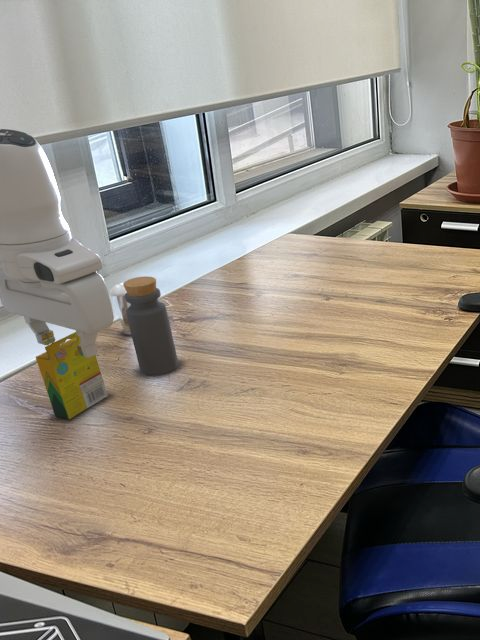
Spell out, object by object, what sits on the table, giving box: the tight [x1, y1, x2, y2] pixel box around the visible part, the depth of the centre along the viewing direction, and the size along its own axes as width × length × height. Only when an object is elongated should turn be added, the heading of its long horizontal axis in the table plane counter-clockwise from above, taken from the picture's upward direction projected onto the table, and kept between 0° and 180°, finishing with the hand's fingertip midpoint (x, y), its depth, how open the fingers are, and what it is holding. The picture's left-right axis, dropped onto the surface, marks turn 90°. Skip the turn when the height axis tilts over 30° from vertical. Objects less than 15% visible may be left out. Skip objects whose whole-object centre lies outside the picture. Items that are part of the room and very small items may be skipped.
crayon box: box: [35, 331, 109, 420], centre depth 102 cm, size 7×3×12 cm, turn 159°
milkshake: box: [109, 282, 132, 336], centre depth 126 cm, size 5×5×10 cm
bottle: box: [122, 276, 179, 377], centre depth 112 cm, size 6×6×15 cm
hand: (67, 349), depth 100 cm, fingers open, 8 cm apart
